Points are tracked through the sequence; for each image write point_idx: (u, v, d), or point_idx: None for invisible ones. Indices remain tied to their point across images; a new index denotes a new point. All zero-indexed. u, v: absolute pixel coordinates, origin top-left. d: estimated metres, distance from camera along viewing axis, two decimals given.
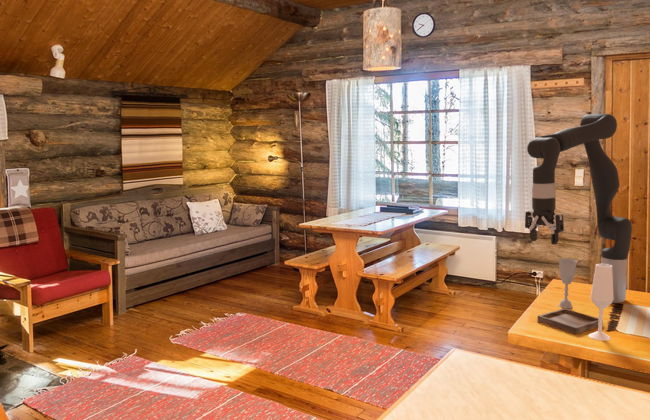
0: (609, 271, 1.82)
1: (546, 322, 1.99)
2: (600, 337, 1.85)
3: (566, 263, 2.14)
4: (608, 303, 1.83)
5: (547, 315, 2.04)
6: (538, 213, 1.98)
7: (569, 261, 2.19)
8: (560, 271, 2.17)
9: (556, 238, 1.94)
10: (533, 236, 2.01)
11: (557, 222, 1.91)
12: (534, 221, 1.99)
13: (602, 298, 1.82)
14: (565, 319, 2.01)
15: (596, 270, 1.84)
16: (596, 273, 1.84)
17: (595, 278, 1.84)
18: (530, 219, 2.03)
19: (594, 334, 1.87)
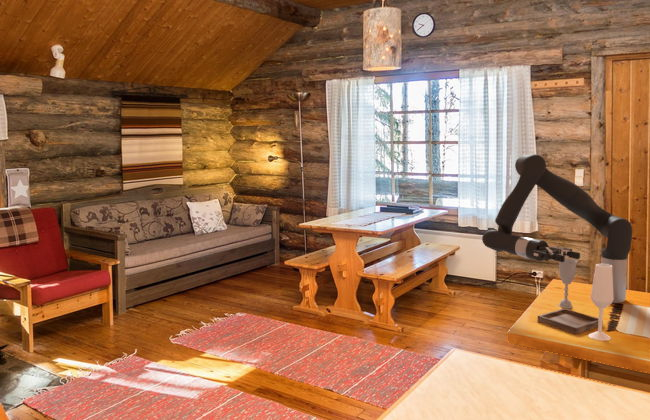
0: (609, 271, 1.82)
1: (546, 322, 1.99)
2: (600, 337, 1.85)
3: (566, 263, 2.14)
4: (608, 303, 1.83)
5: (547, 315, 2.04)
6: None
7: (569, 261, 2.19)
8: (560, 271, 2.17)
9: (556, 258, 1.93)
10: (574, 257, 1.97)
11: None
12: None
13: (602, 298, 1.82)
14: (565, 319, 2.01)
15: (596, 270, 1.84)
16: (596, 273, 1.84)
17: (595, 278, 1.84)
18: None
19: (594, 334, 1.87)
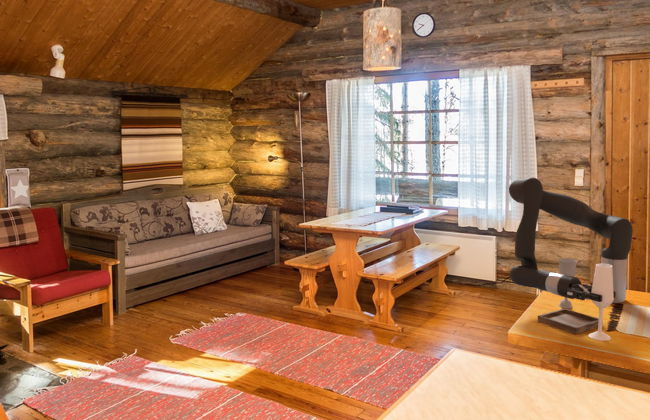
0: (609, 271, 1.82)
1: (546, 322, 1.99)
2: (600, 337, 1.85)
3: (566, 263, 2.14)
4: (608, 303, 1.83)
5: (547, 315, 2.04)
6: None
7: (569, 261, 2.19)
8: (560, 271, 2.17)
9: (593, 298, 1.83)
10: None
11: None
12: None
13: (603, 298, 1.82)
14: (565, 319, 2.01)
15: (596, 270, 1.84)
16: (596, 273, 1.84)
17: (595, 278, 1.84)
18: None
19: (594, 334, 1.87)
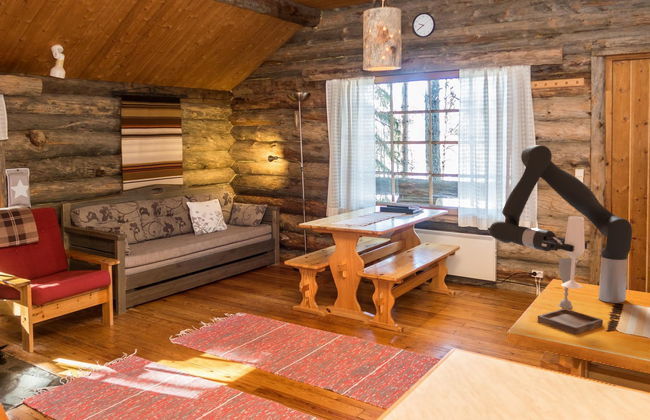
0: (581, 222, 1.92)
1: (546, 322, 1.99)
2: (572, 285, 1.96)
3: (566, 263, 2.14)
4: (579, 253, 1.93)
5: (547, 315, 2.04)
6: None
7: (569, 261, 2.19)
8: (560, 271, 2.17)
9: (565, 248, 1.93)
10: None
11: None
12: None
13: (574, 248, 1.93)
14: (565, 319, 2.01)
15: (569, 222, 1.94)
16: (568, 225, 1.94)
17: (568, 230, 1.94)
18: None
19: (567, 283, 1.97)
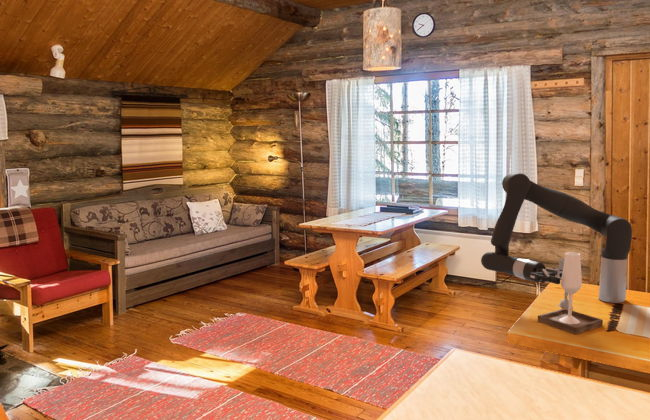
0: (577, 259, 1.94)
1: (546, 322, 1.99)
2: (570, 321, 1.98)
3: None
4: (577, 289, 1.95)
5: (547, 315, 2.04)
6: None
7: None
8: None
9: (552, 281, 1.98)
10: None
11: None
12: None
13: (571, 284, 1.95)
14: None
15: (565, 258, 1.96)
16: (565, 261, 1.96)
17: (564, 265, 1.97)
18: None
19: (564, 318, 1.99)
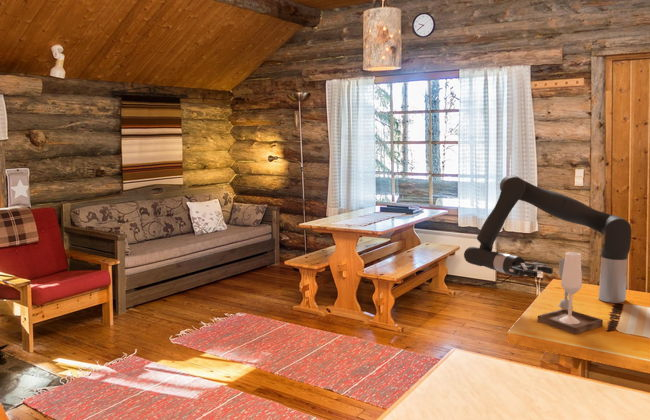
0: (578, 259, 1.94)
1: (546, 322, 1.99)
2: (570, 321, 1.98)
3: None
4: (577, 289, 1.95)
5: (547, 315, 2.04)
6: None
7: None
8: (560, 271, 2.17)
9: (529, 274, 2.06)
10: (547, 272, 2.10)
11: None
12: None
13: (571, 284, 1.95)
14: None
15: (566, 258, 1.96)
16: (566, 261, 1.96)
17: (565, 266, 1.97)
18: None
19: (564, 318, 1.99)
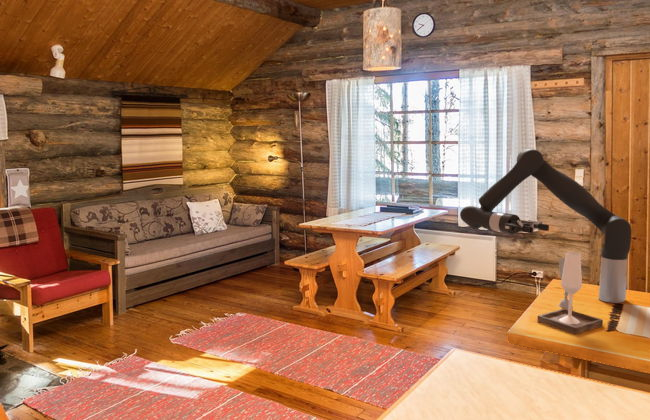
0: (577, 259, 1.94)
1: (546, 322, 1.99)
2: (570, 321, 1.98)
3: None
4: (577, 289, 1.95)
5: (547, 315, 2.04)
6: None
7: None
8: (560, 271, 2.17)
9: (525, 230, 2.03)
10: (543, 229, 2.08)
11: None
12: None
13: (571, 284, 1.95)
14: None
15: (566, 258, 1.96)
16: (566, 261, 1.96)
17: (565, 266, 1.97)
18: (533, 224, 2.14)
19: (564, 318, 1.99)
